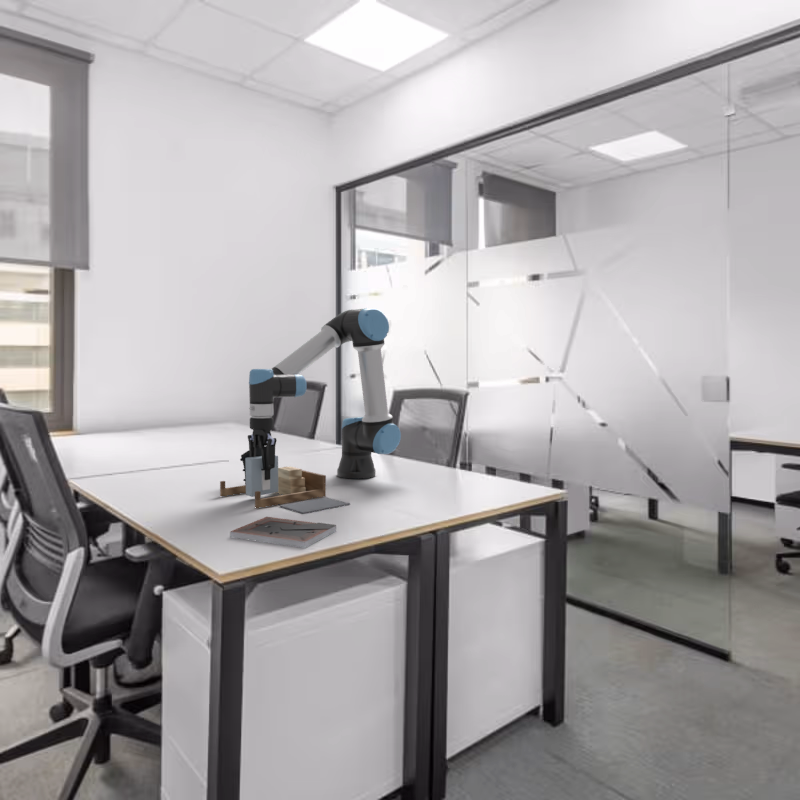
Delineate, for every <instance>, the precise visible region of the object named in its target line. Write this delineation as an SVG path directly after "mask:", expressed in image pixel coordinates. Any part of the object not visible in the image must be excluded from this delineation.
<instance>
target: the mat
mask: <svg viewBox="0 0 800 800" xmlns="http://www.w3.org/2000/svg"><path fill="white" fill-rule="evenodd" d="M349 504H350V505H351V503H350V502H346V501H342V500H339V499H335V498H332V497H327V496H324V497H319V498H313V499H308V500H302V501H297V502H291V503H285V504H280V505H279V507H280V508H282V507H283V508H282V509H286V510H289V511H292V510H293V511H292V512H295V511H296V513H299V514H301V515H304V514H310V513H314V511H315V512H319V510H320V511H325V510H330V509H334V507H335V508H340V507H345V506H350V505H349ZM344 505H345V506H344ZM339 506H340V507H339ZM329 508H330V509H329ZM324 509H325V510H324ZM309 512H310V513H309Z"/></svg>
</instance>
